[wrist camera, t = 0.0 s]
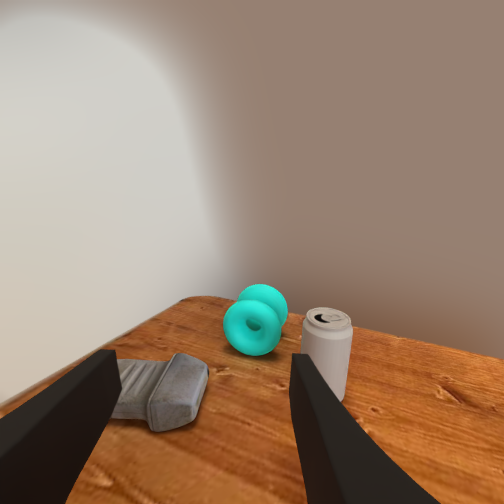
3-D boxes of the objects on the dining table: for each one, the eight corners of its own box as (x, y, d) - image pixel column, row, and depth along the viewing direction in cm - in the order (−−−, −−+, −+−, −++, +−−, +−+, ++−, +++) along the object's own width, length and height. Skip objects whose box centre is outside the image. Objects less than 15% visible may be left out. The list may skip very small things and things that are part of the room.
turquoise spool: (220, 353, 47) (220, 300, 45) (238, 324, 57) (239, 279, 54) (278, 364, 45) (281, 308, 42) (287, 332, 54) (290, 285, 51)
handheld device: (84, 369, 43) (80, 343, 41) (211, 379, 41) (211, 352, 40) (31, 423, 33) (24, 391, 32) (193, 438, 32) (192, 405, 31)
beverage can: (291, 379, 42) (296, 307, 38) (331, 374, 43) (339, 304, 40) (307, 414, 35) (315, 331, 32) (353, 407, 37) (364, 327, 34)
